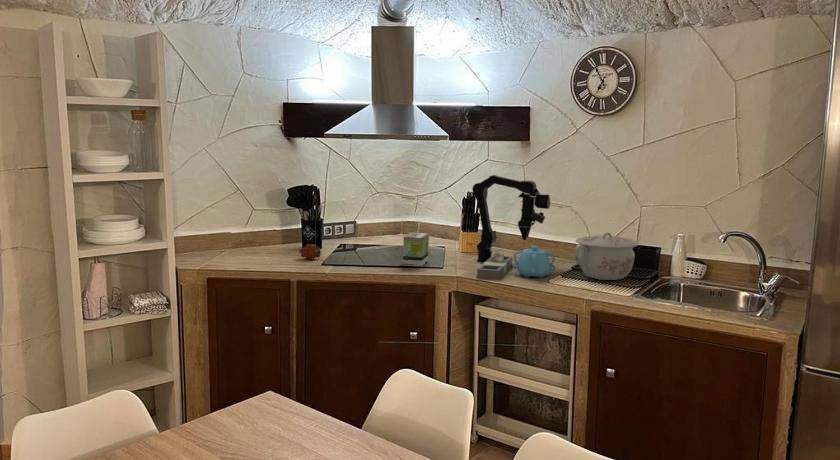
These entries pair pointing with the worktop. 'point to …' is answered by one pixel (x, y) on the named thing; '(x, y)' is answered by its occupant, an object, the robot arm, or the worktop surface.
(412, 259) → the tea box
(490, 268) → the trap deck
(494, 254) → the cream block
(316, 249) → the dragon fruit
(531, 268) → the decorative pot
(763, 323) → the worktop surface
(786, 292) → the worktop surface
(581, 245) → the chamber pot
